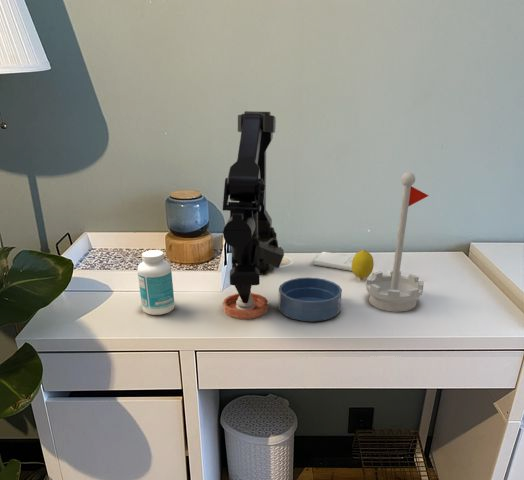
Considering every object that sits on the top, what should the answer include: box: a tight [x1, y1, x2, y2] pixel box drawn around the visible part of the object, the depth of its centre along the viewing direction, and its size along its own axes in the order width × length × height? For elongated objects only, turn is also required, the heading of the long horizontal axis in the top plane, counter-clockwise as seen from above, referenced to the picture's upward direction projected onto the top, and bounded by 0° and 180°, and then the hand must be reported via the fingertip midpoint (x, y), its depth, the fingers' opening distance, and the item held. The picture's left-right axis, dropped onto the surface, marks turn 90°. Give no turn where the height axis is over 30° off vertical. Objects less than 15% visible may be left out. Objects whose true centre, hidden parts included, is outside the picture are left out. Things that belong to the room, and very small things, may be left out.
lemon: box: [351, 249, 375, 281], centre depth 143 cm, size 6×6×8 cm
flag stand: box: [365, 171, 430, 313], centre depth 125 cm, size 13×13×30 cm
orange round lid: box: [222, 292, 269, 320], centre depth 128 cm, size 10×10×2 cm
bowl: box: [277, 277, 343, 322], centre depth 127 cm, size 14×14×5 cm
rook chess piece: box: [236, 291, 255, 310], centre depth 126 cm, size 4×4×8 cm
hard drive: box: [312, 251, 355, 272], centre depth 154 cm, size 2×8×12 cm
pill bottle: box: [136, 249, 175, 316], centre depth 125 cm, size 8×7×14 cm
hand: (245, 299), depth 127 cm, fingers closed on rook chess piece, 3 cm apart
